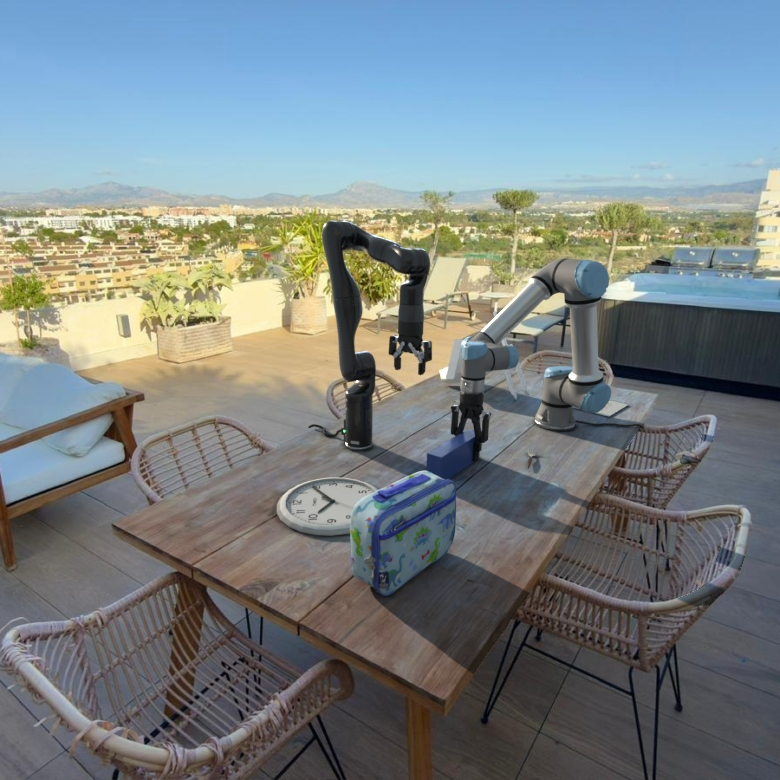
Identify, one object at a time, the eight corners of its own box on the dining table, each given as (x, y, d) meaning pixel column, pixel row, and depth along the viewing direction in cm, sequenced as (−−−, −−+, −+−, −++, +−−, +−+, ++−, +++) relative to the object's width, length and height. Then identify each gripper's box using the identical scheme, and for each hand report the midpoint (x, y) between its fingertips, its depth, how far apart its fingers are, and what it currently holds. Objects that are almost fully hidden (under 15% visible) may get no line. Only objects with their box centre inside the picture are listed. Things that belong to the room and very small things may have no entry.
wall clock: (392, 527, 129) (268, 531, 127) (391, 533, 130) (269, 537, 127) (383, 473, 158) (282, 475, 155) (383, 478, 158) (282, 480, 156)
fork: (523, 469, 166) (524, 463, 165) (529, 450, 180) (529, 445, 179) (532, 470, 165) (532, 464, 164) (536, 451, 179) (537, 446, 179)
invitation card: (608, 416, 214) (573, 407, 224) (608, 416, 214) (573, 408, 224) (628, 404, 229) (594, 396, 238) (628, 405, 229) (594, 397, 238)
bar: (466, 453, 177) (467, 429, 174) (479, 457, 174) (481, 432, 171) (425, 480, 158) (427, 453, 155) (440, 485, 155) (441, 457, 152)
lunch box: (378, 608, 104) (379, 516, 98) (343, 583, 112) (342, 495, 105) (459, 554, 122) (465, 473, 116) (425, 535, 129) (428, 458, 123)
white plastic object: (461, 429, 252) (437, 405, 227) (444, 352, 274) (420, 323, 250) (535, 404, 240) (518, 377, 215) (510, 326, 262) (492, 293, 237)
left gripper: (383, 317, 155) (383, 370, 160) (424, 323, 147) (422, 378, 152) (398, 314, 161) (397, 365, 165) (438, 320, 152) (435, 373, 157)
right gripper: (441, 388, 168) (438, 454, 175) (492, 399, 158) (487, 469, 165) (453, 382, 174) (449, 447, 181) (503, 393, 163) (497, 461, 170)
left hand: (409, 372), depth 158 cm, fingers open, 8 cm apart
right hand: (467, 457), depth 173 cm, fingers closed on bar, 5 cm apart
